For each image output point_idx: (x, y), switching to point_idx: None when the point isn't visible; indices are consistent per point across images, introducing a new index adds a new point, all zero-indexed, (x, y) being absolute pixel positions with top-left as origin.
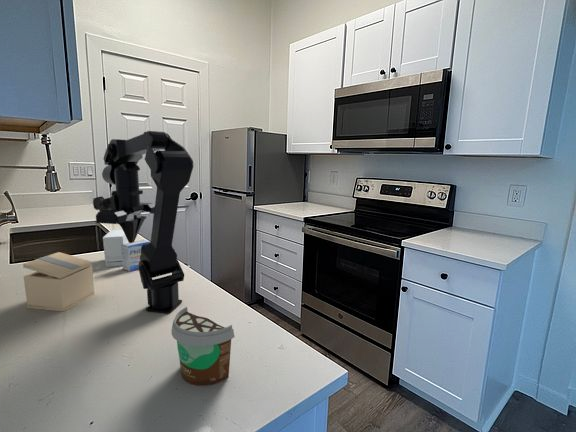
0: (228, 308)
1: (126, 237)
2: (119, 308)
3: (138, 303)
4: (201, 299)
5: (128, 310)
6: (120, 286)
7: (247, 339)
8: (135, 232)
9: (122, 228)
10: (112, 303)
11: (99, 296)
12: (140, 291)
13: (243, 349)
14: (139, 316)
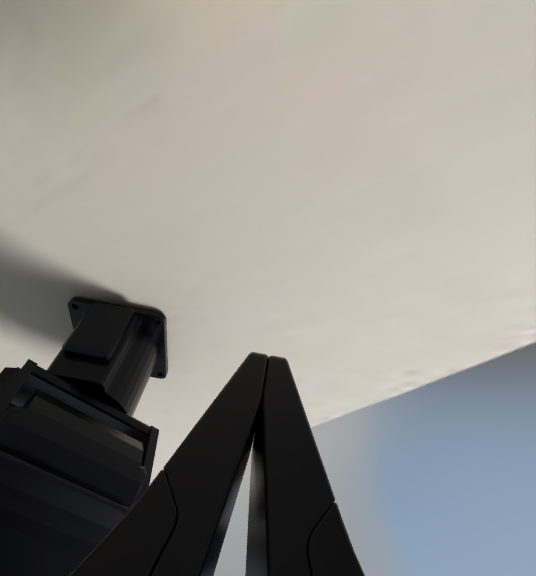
0: (161, 454)
1: (216, 398)
2: (54, 199)
3: (119, 252)
4: (199, 408)
5: (55, 240)
6: (300, 65)
7: None
8: (250, 527)
9: (103, 544)
10: (82, 144)
11: (132, 8)
12: (237, 215)
13: None
14: (36, 289)
